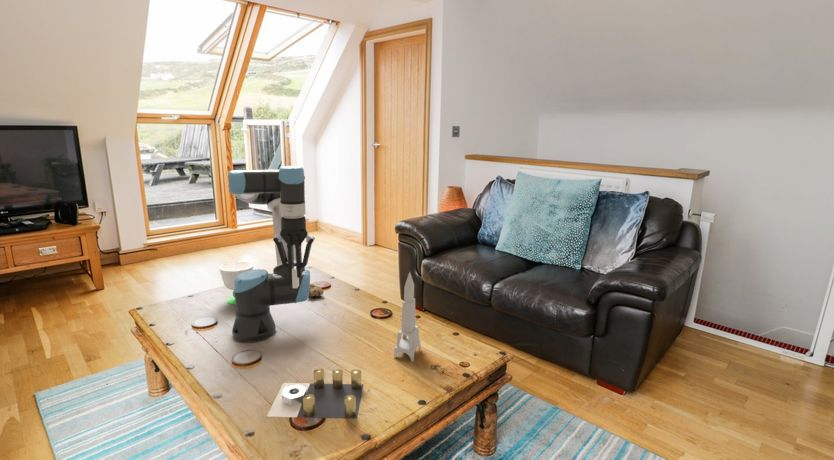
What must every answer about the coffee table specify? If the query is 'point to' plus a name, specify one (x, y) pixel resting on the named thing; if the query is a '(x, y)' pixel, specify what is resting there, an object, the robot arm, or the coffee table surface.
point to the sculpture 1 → (315, 290)
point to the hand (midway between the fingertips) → (295, 286)
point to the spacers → (337, 384)
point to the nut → (293, 395)
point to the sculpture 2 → (408, 323)
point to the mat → (317, 402)
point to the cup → (233, 274)
